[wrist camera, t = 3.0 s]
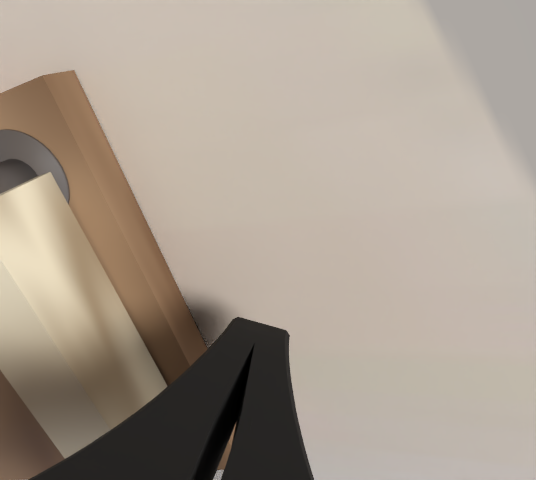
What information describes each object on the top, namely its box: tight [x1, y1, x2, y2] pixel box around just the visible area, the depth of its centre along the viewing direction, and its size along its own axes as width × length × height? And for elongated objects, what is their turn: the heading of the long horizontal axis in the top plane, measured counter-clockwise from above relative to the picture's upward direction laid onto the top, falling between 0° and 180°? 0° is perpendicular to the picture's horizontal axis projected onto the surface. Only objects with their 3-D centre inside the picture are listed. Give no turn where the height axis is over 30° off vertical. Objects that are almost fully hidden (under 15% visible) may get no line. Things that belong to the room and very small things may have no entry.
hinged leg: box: [0, 159, 168, 459], centre depth 11 cm, size 9×2×3 cm, turn 19°
